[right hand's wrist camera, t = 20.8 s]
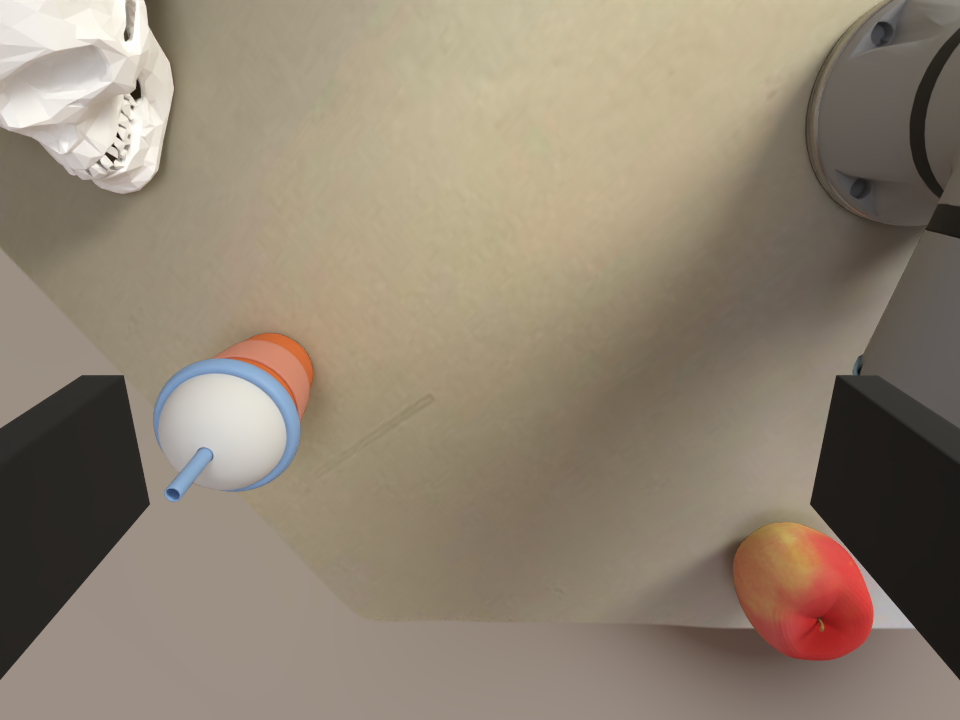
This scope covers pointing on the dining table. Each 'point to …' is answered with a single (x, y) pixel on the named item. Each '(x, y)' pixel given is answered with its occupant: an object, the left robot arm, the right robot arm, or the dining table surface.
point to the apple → (802, 592)
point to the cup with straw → (234, 415)
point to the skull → (86, 86)
